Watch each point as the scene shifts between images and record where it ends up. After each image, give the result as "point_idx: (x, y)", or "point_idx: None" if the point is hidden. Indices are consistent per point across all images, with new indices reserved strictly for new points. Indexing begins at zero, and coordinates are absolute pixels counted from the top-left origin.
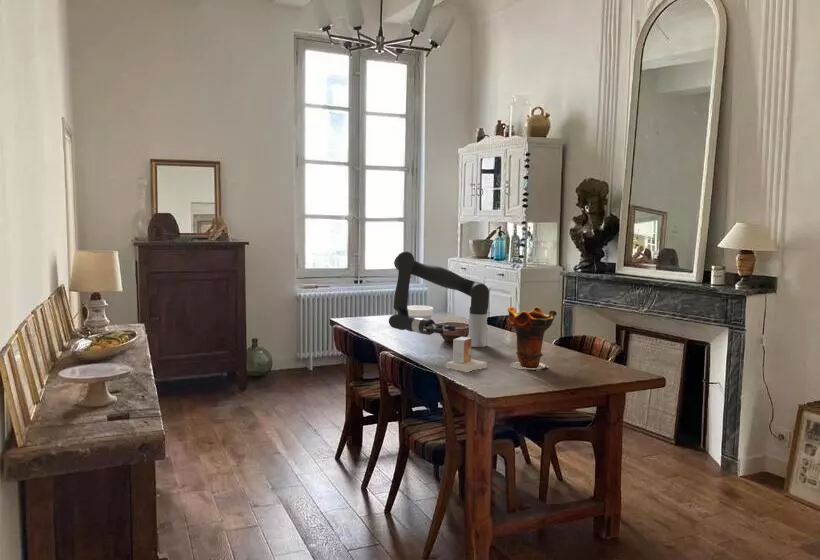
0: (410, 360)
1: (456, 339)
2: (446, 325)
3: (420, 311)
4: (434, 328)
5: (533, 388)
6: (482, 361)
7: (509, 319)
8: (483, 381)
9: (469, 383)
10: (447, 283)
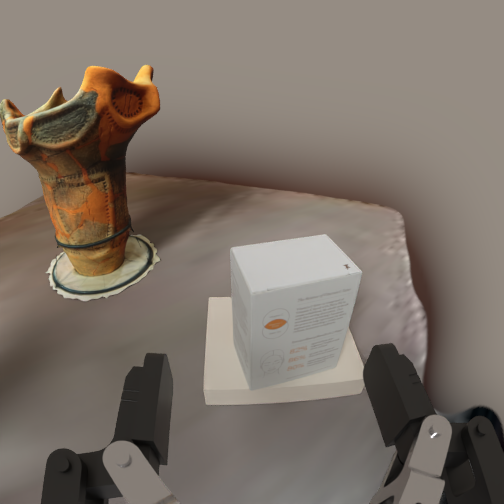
0: None
1: (349, 260)
2: (155, 472)
3: None
4: (447, 425)
5: (285, 199)
6: (209, 311)
7: (116, 112)
8: (345, 249)
9: (388, 254)
10: None
